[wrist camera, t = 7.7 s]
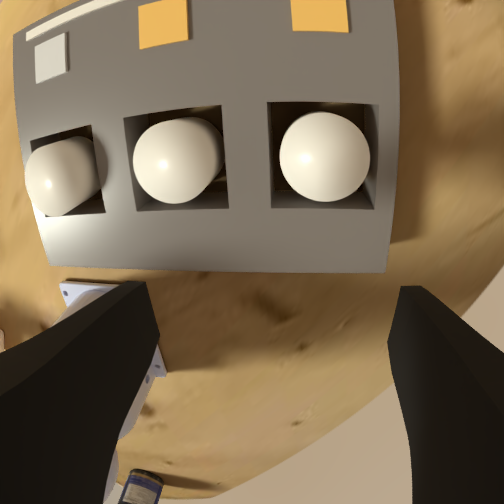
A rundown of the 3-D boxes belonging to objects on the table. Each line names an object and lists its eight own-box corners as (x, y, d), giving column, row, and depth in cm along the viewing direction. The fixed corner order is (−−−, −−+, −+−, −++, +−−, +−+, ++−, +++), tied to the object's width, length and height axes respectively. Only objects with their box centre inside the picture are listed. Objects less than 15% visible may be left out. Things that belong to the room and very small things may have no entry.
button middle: (228, 185, 17) (216, 202, 15) (161, 188, 18) (139, 205, 15) (222, 113, 16) (208, 116, 13) (153, 121, 16) (128, 126, 13)
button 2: (110, 196, 17) (82, 215, 15) (62, 201, 18) (33, 218, 15) (99, 130, 16) (68, 140, 13) (51, 142, 16) (19, 152, 13)
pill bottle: (154, 484, 44) (138, 533, 34) (125, 469, 42) (106, 519, 32) (171, 481, 41) (154, 535, 31) (139, 466, 40) (119, 521, 30)
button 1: (355, 185, 16) (367, 202, 14) (282, 184, 17) (280, 201, 14) (357, 112, 15) (370, 115, 12) (280, 110, 15) (277, 112, 13)
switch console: (373, 247, 19) (386, 274, 16) (72, 246, 21) (48, 267, 18) (373, -18, 11) (388, -38, 8) (42, 36, 14) (11, 34, 11)
